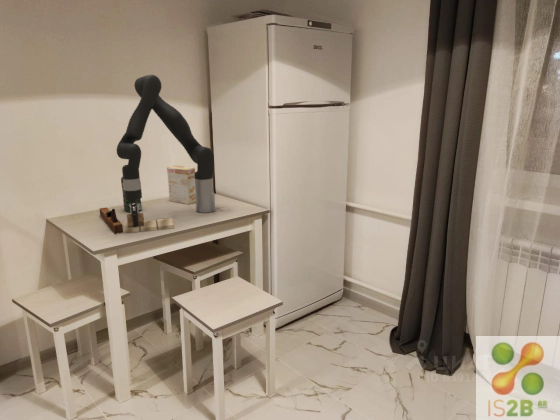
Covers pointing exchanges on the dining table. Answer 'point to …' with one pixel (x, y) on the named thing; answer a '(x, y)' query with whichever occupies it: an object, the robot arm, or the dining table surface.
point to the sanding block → (140, 219)
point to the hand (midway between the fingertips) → (135, 224)
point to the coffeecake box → (181, 184)
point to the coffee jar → (126, 202)
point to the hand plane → (111, 220)
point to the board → (150, 226)
